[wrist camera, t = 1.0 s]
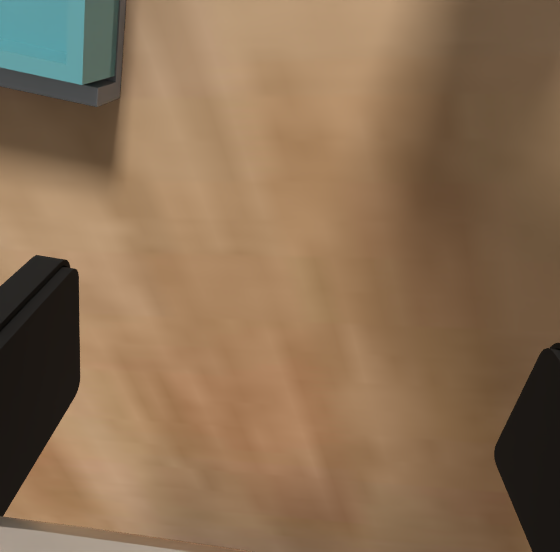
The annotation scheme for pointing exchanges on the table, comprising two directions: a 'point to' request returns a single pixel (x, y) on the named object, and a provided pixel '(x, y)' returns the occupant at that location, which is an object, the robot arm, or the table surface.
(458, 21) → the table surface
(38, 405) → the robot arm
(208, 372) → the table surface
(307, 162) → the table surface
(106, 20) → the teal square tray
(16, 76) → the bay
